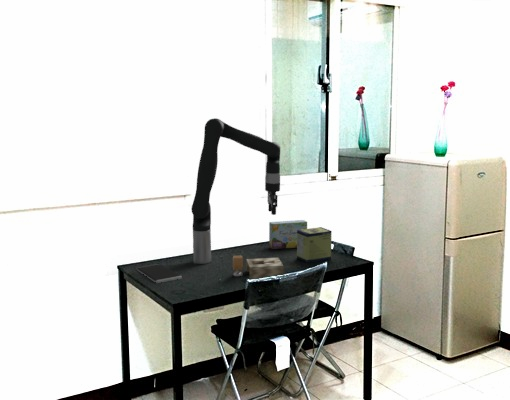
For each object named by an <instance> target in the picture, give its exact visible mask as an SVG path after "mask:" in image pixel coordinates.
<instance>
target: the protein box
mask: <svg viewBox="0 0 510 400" xmlns="http://www.w3.org/2000/svg"><path fill="white" fill-rule="evenodd" d="M332 233H333V232H332V230H330V229H327V228H324V227H322V226H320V227H312V228H307V229H303V230H297V247H296V258H297V259H298V260H300V261H302V262H305V263H307V264H308V263H314V262H320V261H321V262H322V261H328V260H332ZM327 259H328V260H327Z"/></svg>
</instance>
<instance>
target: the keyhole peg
mask: <svg viewBox="0 0 510 400" xmlns="http://www.w3.org/2000/svg"><path fill="white" fill-rule="evenodd" d="M243 264H244V258H243V255H241V254H240V255H232V270H233V271H234V272H233V277H234V278H239V277H240V276H241V277H243V276H244V275H243V272H242V271H243V270H244V265H243ZM241 277H240V278H241Z"/></svg>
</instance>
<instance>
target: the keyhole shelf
mask: <svg viewBox="0 0 510 400" xmlns="http://www.w3.org/2000/svg"><path fill="white" fill-rule="evenodd" d="M245 262H246V263H245V264H246V272H248V273H249V280H254V279H253V278H263V277H270V276H277V275H283V276H284V265H283V262H282V261H281V260H280V258H279V257H266V258H262V257H261V258H246V261H245Z"/></svg>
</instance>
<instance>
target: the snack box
mask: <svg viewBox="0 0 510 400" xmlns="http://www.w3.org/2000/svg"><path fill="white" fill-rule="evenodd" d="M268 223H269V224H268V226H269V228H268V229H269V230H268V231H269V235H268V236H269V237H268V240H269V241H268V243H269V244H268V245H269V246H268V247H269V248H270V249H271V250H279V249H293V248H294V249H295V248H296V249H297V230H303V229H308V221H306V220H305V219H301V220H298V219H297V220H282V221H269V222H268Z"/></svg>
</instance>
